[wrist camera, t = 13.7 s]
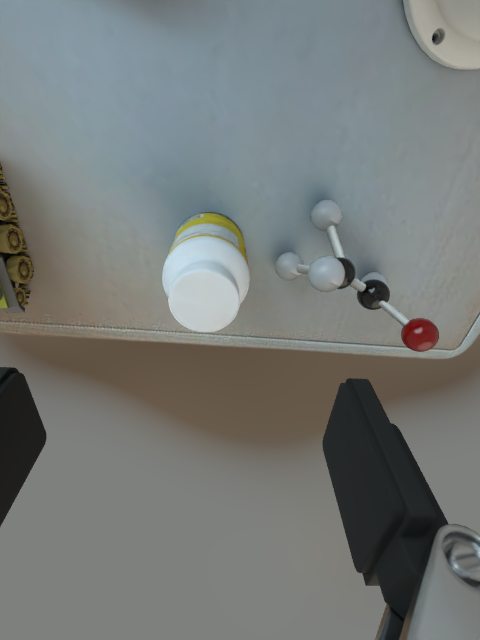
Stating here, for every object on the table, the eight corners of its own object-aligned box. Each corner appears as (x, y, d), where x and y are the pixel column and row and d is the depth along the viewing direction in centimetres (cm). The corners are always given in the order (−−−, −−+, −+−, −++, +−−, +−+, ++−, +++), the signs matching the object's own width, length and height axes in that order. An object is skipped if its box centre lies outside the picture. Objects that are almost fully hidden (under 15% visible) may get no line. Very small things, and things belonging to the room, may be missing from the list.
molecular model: (320, 190, 29) (363, 226, 20) (413, 256, 33) (485, 311, 24) (268, 265, 33) (285, 324, 24) (357, 317, 37) (401, 384, 28)
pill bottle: (212, 287, 34) (208, 359, 24) (161, 245, 31) (133, 306, 22) (258, 242, 32) (274, 301, 22) (206, 193, 29) (198, 234, 19)
